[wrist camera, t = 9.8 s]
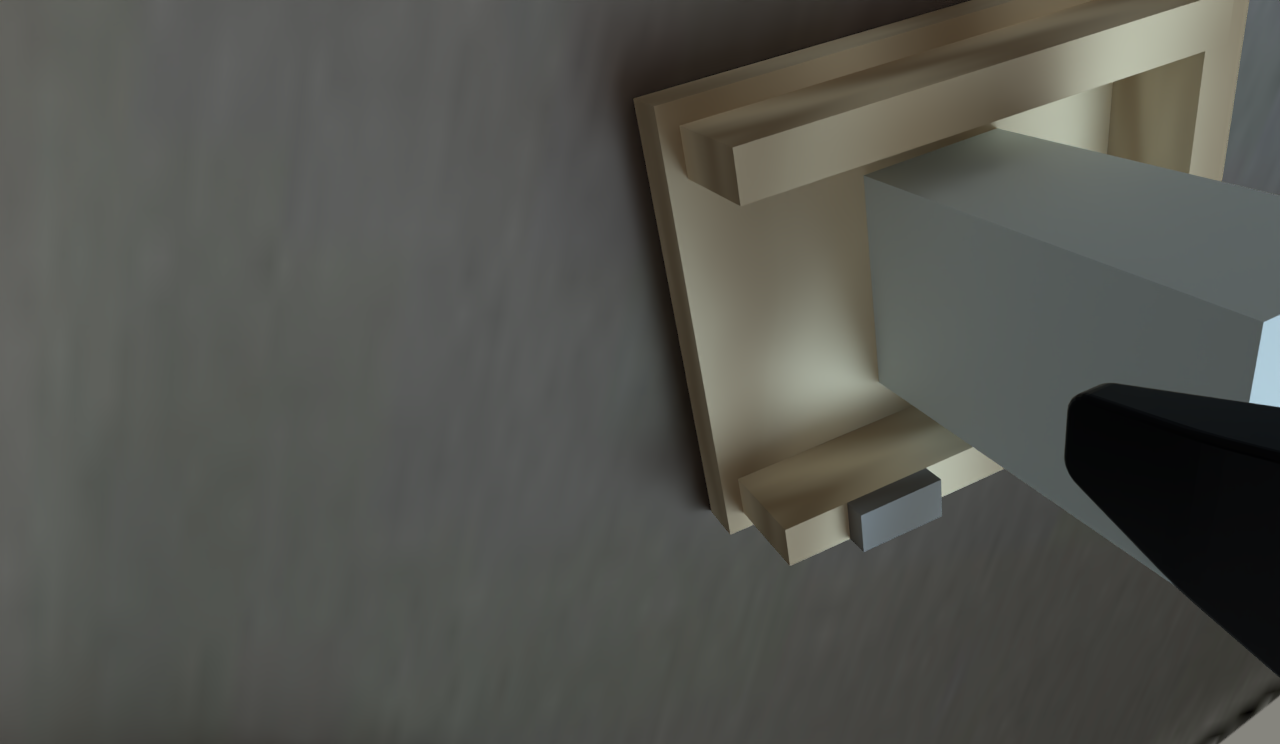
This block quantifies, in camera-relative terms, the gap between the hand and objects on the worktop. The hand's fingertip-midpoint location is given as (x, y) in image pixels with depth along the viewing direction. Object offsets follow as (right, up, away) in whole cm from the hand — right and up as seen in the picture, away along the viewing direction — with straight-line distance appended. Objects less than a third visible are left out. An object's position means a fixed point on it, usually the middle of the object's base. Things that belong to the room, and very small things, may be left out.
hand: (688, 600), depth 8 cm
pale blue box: (+7, +5, +15) cm, 17 cm away
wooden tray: (+7, +5, +16) cm, 18 cm away
